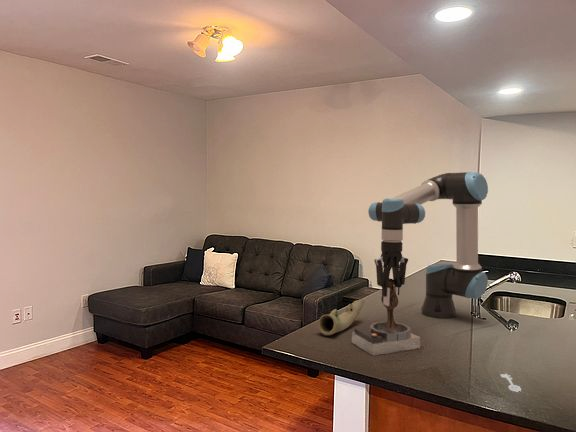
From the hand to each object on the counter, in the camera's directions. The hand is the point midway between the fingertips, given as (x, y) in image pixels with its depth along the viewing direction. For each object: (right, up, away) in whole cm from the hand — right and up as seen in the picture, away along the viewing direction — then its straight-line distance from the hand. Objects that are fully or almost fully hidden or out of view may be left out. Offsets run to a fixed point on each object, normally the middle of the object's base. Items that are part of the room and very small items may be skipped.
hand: (390, 304), depth 161 cm
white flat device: (-2, -15, 0) cm, 15 cm away
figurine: (0, -8, +1) cm, 9 cm away
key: (+29, -18, -31) cm, 45 cm away
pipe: (-15, -14, +20) cm, 29 cm away
